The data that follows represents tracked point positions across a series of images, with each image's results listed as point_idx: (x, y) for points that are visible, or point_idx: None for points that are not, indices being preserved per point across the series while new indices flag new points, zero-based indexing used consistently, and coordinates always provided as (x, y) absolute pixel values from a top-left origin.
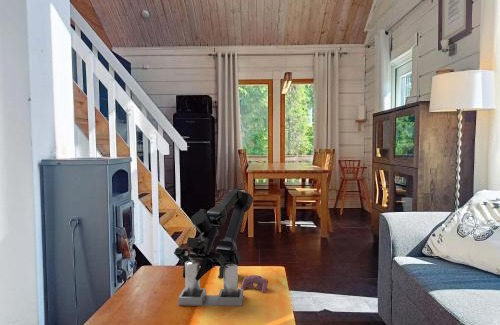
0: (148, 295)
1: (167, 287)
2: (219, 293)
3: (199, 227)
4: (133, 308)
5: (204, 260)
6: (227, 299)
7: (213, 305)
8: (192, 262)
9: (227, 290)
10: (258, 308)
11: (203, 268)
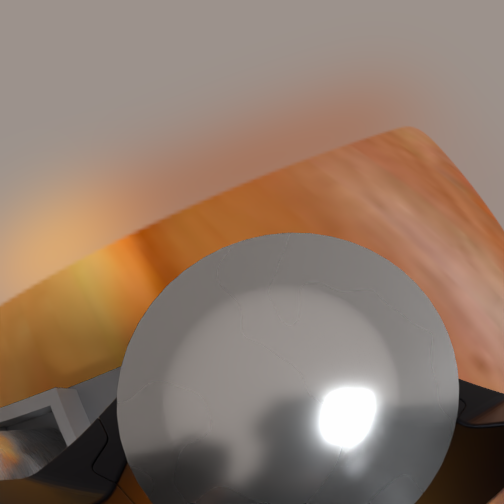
0: (476, 322)
1: None
2: None
3: None
4: (418, 209)
5: (4, 500)
6: (18, 402)
7: (93, 380)
8: (298, 404)
9: (7, 432)
10: None
11: (81, 444)
